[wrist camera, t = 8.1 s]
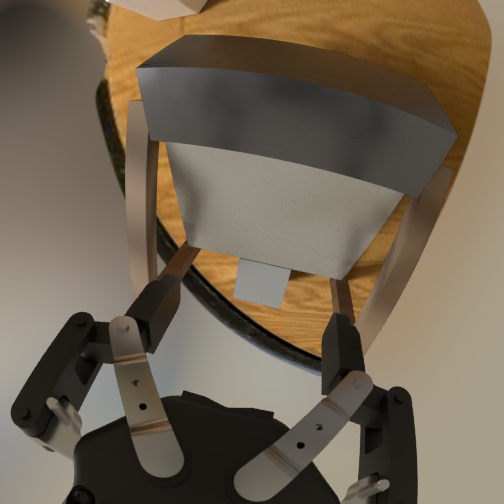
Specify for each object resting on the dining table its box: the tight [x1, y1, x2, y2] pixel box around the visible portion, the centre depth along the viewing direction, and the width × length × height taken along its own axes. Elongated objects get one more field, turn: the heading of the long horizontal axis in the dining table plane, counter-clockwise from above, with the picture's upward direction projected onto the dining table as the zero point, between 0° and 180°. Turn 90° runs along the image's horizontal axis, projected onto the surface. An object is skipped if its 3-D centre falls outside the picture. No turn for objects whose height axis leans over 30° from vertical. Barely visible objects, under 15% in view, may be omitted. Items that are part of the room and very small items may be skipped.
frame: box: [125, 100, 454, 357], centre depth 22 cm, size 17×18×13 cm
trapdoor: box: [136, 35, 458, 280], centre depth 17 cm, size 18×15×5 cm
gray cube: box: [233, 258, 291, 309], centre depth 30 cm, size 5×5×5 cm
